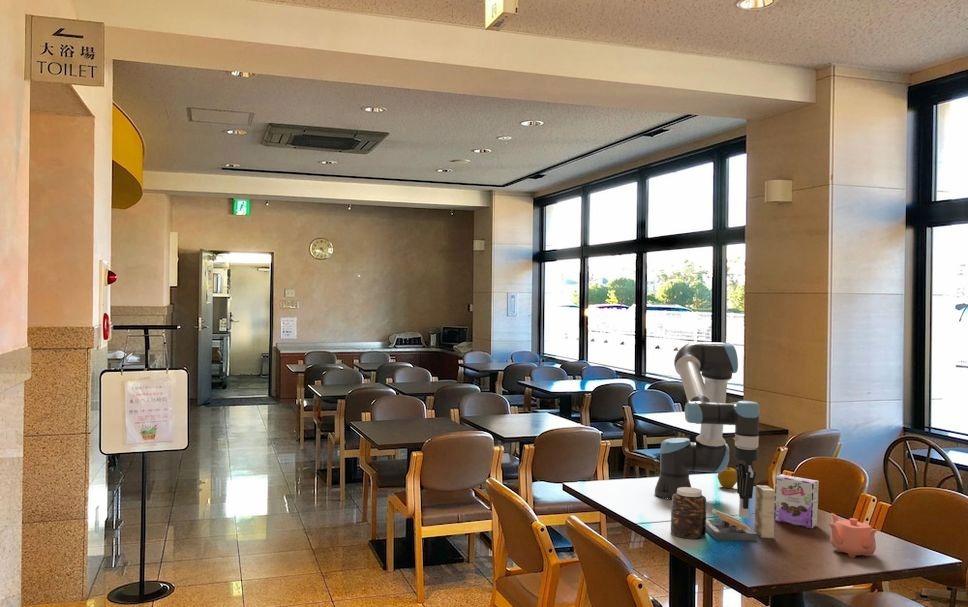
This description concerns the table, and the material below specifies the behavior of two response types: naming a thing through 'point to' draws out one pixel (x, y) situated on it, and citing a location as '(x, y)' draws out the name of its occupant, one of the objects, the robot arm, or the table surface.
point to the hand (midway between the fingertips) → (743, 517)
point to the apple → (727, 478)
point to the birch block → (764, 511)
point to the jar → (688, 513)
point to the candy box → (796, 501)
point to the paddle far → (724, 515)
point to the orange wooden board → (732, 521)
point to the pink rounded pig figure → (852, 537)
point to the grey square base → (729, 531)
